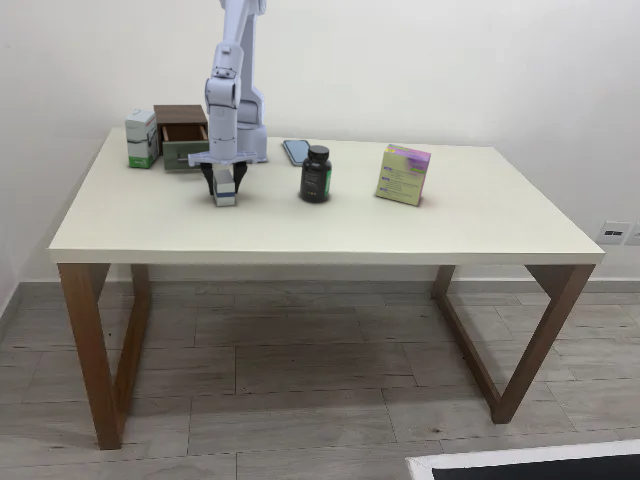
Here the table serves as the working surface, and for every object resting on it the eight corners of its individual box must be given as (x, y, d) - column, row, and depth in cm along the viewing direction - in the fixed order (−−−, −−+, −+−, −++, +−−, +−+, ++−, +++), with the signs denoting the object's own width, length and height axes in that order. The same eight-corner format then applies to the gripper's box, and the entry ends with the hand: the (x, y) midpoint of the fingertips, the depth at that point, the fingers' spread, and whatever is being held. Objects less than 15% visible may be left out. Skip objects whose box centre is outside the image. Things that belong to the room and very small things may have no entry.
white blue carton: (229, 190, 116) (229, 169, 113) (234, 205, 110) (235, 183, 107) (212, 191, 114) (211, 169, 111) (217, 206, 109) (216, 184, 106)
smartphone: (294, 163, 130) (282, 140, 142) (294, 166, 130) (282, 143, 142) (321, 162, 132) (307, 139, 144) (320, 166, 133) (306, 142, 144)
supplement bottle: (333, 200, 117) (339, 153, 110) (307, 205, 113) (312, 156, 107) (319, 187, 121) (324, 141, 115) (294, 192, 118) (298, 144, 112)
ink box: (149, 169, 121) (144, 122, 114) (128, 167, 120) (123, 119, 114) (159, 154, 128) (155, 109, 122) (140, 152, 128) (135, 107, 121)
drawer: (215, 175, 119) (214, 149, 116) (165, 178, 116) (163, 151, 112) (205, 148, 132) (204, 123, 129) (160, 149, 129) (159, 124, 125)
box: (421, 196, 123) (431, 152, 117) (417, 206, 118) (428, 161, 112) (380, 186, 125) (388, 142, 119) (375, 196, 121) (383, 151, 114)
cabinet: (208, 153, 132) (207, 122, 127) (159, 155, 128) (156, 122, 123) (201, 134, 142) (200, 104, 138) (155, 135, 138) (153, 104, 134)
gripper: (189, 143, 99) (192, 203, 106) (261, 141, 103) (259, 199, 111) (186, 130, 104) (188, 188, 112) (254, 129, 109) (252, 184, 116)
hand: (223, 192), depth 111 cm, fingers open, 5 cm apart
